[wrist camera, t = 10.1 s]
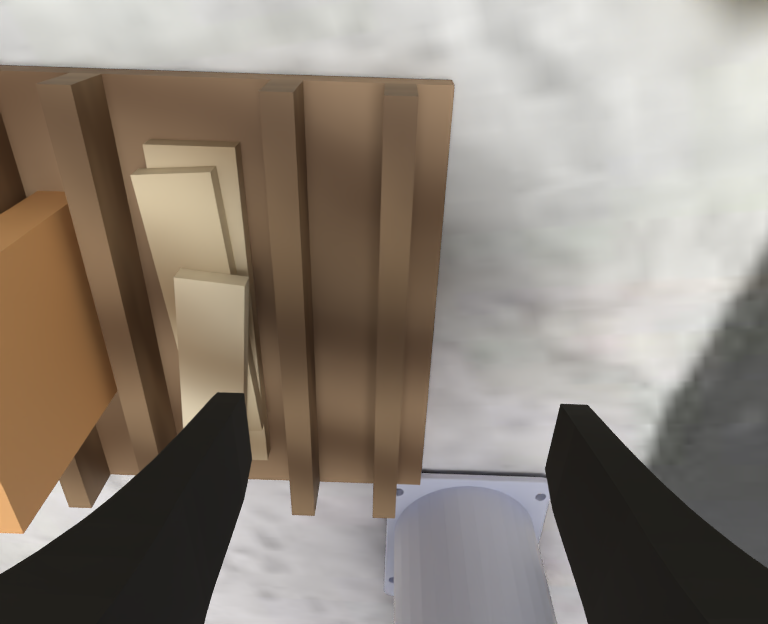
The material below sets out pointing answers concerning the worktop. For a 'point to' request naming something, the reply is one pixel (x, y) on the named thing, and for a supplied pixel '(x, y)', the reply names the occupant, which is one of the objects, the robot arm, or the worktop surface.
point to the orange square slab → (45, 355)
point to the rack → (257, 255)
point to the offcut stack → (206, 272)
